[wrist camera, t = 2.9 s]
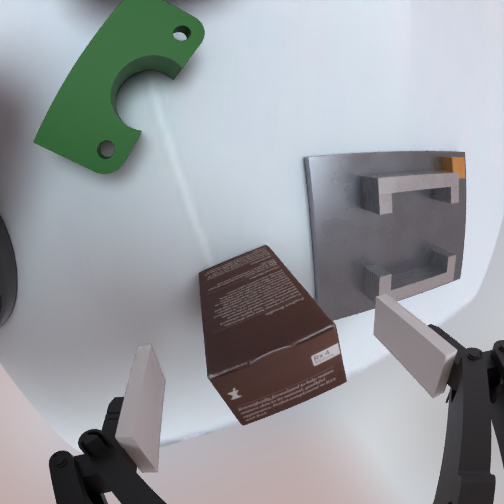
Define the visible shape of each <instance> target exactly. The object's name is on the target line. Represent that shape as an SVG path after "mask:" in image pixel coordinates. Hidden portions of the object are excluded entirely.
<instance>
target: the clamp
mask: <svg viewBox="0 0 504 504" xmlns="http://www.w3.org/2000/svg"><path fill="white" fill-rule="evenodd" d="M176 32H182V33H184V34H185V35H186V37H187V40H184V41H178V40H176V39H175V38H174V37H173V34H174V33H176ZM204 35H205V31H204V27H203V25H202V23H201V22H200V21H199V20H198V19H197V18H195V17H193V16H192V15H190V14H188V13H186V12H184V11H182V10H181V9H179V8H177V7H175V6H173V5H171V4H169V3H167V2H165V1H163V0H123V1H122V2H121V3H120V5H119V6H118V7H117V8H116V9H115V10H114V12H113V13H112V14H111V15H110V17H109V18H108V19H107V20H106V21H105V23H104V24H103V25H102V27H101V28H100V29H99V31H98V32H97V33H96V35H95V36H94V37H93V39H92V40H91V41H90V43H89V44H88V46H87V47H86V48H85V50H84V51H83V53H82V54H81V56H80V57H79V59H78V60H77V62H76V63H75V65H74V67H73V68H72V70H71V71H70V73H69V75H68V76H67V78H66V80H65V81H64V83H63V85H62V86H61V88H60V90H59V92H58V93H57V95H56V97H55V99H54V101H53V103H52V105H51V106H50V108H49V110H48V112H47V114H46V116H45V118H44V120H43V122H42V125H41V127H40V129H39V131H38V133H37V135H36V138H35V140H34V143H36V144H38V145H40V146H42V147H44V148H46V149H48V150H51V151H53V152H55V153H57V154H59V155H61V156H63V157H65V158H67V159H69V160H71V161H74V162H76V163H78V164H80V165H82V166H84V167H86V168H88V169H90V170H92V171H94V172H97V173H101V174H107V173H111V172H114V171H116V170H117V169H119V168H120V167H121V166H122V165H123V163H124V162H125V160H126V158H127V156H128V155H129V153H130V151H131V149H132V147H133V145H134V144H135V142H136V140H137V138H138V137H139V135H140V133H141V131H140V130H136V129H133V128H130V127H128V126H127V125H125V124H124V123H123V122H122V121H121V119H120V118H119V116H118V114H117V111H116V103H115V102H116V95H117V92H118V90H119V88H120V86H121V85H122V83H123V82H124V81H125V80H126V79H127V78H129V77H130V76H131V75H133V74H135V73H137V72H140V71H144V70H156V71H160V72H163V73H165V74H166V75H168V76H169V77H170V78H172V79H174V78H175V76H176V75H177V74H178V73H179V72H180V70H181V69H182V68H183V67H184V65H185V64H186V62H187V61H188V60H189V58H190V57H191V56H192V54H193V53H194V52H195V50H196V49H197V48H198V47H199V45H200V44H201V43H202V41H203V39H204ZM105 140H109V141H111V142H113V144H114V146H115V152H114V154H113V155H112V156H110V157H105V156H103V155H102V154H101V153H100V145H101V143H102V142H103V141H105Z"/></svg>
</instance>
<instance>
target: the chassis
mask: <svg viewBox="0 0 504 504" xmlns="http://www.w3.org/2000/svg"><path fill="white" fill-rule="evenodd" d="M304 162H305V171H306V180H307V189H308V198H309V209H310V219H311V231H312V243H313V257H314V272H315V289H316V303H317V304H318V305H319V306H320V307H321V308H322V310H323V311H324V312H325V313H326V314H327V316H328V317H329V318H330V319H331V320H332V321H333V320H337V319H340V318H344V317H347V316H351V315H354V314H358V313H361V312H364V311H368V310H371V309H374V308H375V304H376V297H377V296H380V295H383V294H387V295H389V296H390V297H391V298H392V299H394V300H395V301H399V300H402V299H405V298H408V297H411V296H414V295H417V294H420V293H423V292H425V291H428V290H431V289H434V288H436V287H439V286H442V285H444V284H447V283H450V282H452V281H455V280H457V279H460V276H461V268H462V260H463V250H464V238H465V222H466V164H465V152H452V151H399V152H371V153H353V154H338V155H325V156H314V157H304Z"/></svg>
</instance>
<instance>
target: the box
mask: <svg viewBox="0 0 504 504" xmlns="http://www.w3.org/2000/svg"><path fill="white" fill-rule="evenodd" d="M199 283H200V297H201V310H202V321H203V333H204V342H205V355H206V364H207V377H208V379H209V380H210V381H211V383H212V384H213V386H214V387H215V389H216V390H217V391H218V393H219V394H220V396H221V397H222V398H223V400H224V401H225V402H226V404H227V405H228V407H229V408H230V409H231V411H232V412H233V414H234V415H235V417H236V418H237V419H238V421H239V422H240V423H241V424H242V425H246V424H249V423H251V422H254V421H257V420H260V419H263V418H265V417H268V416H270V415H273V414H275V413H278V412H280V411H283V410H285V409H288V408H290V407H293V406H295V405H297V404H300V403H302V402H305V401H307V400H309V399H311V398H313V397H316V396H318V395H320V394H322V393H324V392H326V391H328V390H331V389H333V388H335V387H337V386H339V385H341V384H343V383H345V382H346V381H347V380H346V375H345V370H344V365H343V360H342V355H341V350H340V345H339V339H338V334H337V329H336V325H335V323H334V322H333V321H332V320H331V319H330V318H329V317H328V316H327V314H326V313H325V312H324V311H323V310H322V308H321V307H320V306H319V305H318V304H317V303H316V302H315V301H314V299H313V298H312V297H311V296H310V295H309V294H308V292H307V291H306V290H305V289H304V288H303V286H302V285H301V284H300V283H299V282H298V281H297V279H296V278H295V277H294V276H293V275H292V274H291V272H290V271H289V270H288V269H287V268H286V267H285V265H284V264H283V263H282V262H281V261H280V259H279V258H278V257H277V256H276V255H275V253H274V252H273V251H272V250H271V249H270V247H269V246H267V245H266V246H263V247H261V248H258V249H256V250H253V251H251V252H248V253H246V254H244V255H241V256H239V257H236V258H234V259H231V260H229V261H226V262H224V263H222V264H219V265H217V266H214V267H212V268H210V269H207V270H205V271H203V272H200V273H199Z"/></svg>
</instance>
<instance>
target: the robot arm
mask: <svg viewBox="0 0 504 504" xmlns="http://www.w3.org/2000/svg"><path fill="white" fill-rule="evenodd" d="M16 292H17V274H16V265H15V259H14V254H13V249H12V245H11V242H10V239H9V236H8V233H7V230H6V227H5V225H4V223H3V220H2V218H1V216H0V326H1V325H2V324H3V323H4V322H5V321H6V320H7V319H8V317H9V316H10V314H11V312H12V310H13V307H14V304H15V299H16ZM373 335H374V336H375V337H376V338H377V339H378V340H379V341H380V342H381V343H382V344H383V345H384V346H385V347H386V348H387V349H388V350H389V351H390V352H391V354H392V355H393V356H394V357H395V358H396V359H397V360H398V361H399V362H400V363H401V364H402V365H403V366H404V367H405V368H406V370H407V371H408V372H409V373H410V374H411V375H412V376H413V377H414V378H415V379H416V380H417V381H418V383H419V384H420V385H421V386H422V387H423V388H424V389H425V390H426V391H427V392H428V393H429V394H430V396H431V397H432V398H435V397H436V396H438V395H440V394H442V393H444V391H445V388H446V385H447V384H448V385H449V386H450V387H451V389H450V392H449V394H448V397H447V399H446V403H447V402H448V400H449V408H448V420H447V431H446V440H445V447H444V453H443V460H442V466H441V471H440V476H439V481H438V486H437V491H436V495H435V499H434V502H433V504H493V501H494V492H495V475H492V474H491V473H490V463H491V420H492V423H493V426H494V430H495V434H496V437H497V441H498V445H499V449H500V453H501V457H502V462H503V467H504V340H500V341H497V342H495V344H494V346H493V350H490V351H486V352H482V351H481V350H479V349H477V348H467V349H466V348H464V347H463V346H462V345H461V344H459V343H458V342H457V341H456V340H455V339H453V338H452V337H450V336H449V335H448V334H447V333H445V332H444V331H443V330H442V329H440V328H439V327H437V326H434V325H432V324H430V325H428V326H427V325H426V324H425V323H423V322H422V321H421V320H420V319H418V318H417V317H416V316H414V315H413V314H412V313H411V312H409V311H408V310H407V309H405V308H404V307H403V306H402V305H400V304H399V303H398V302H396V301H395V300H394V299H392V298H391V297H390V296H389V295H387V294H383V295H380V296H377V297H376V304H375V321H374V334H373ZM165 382H166V381H165V378H164V376H163V373H162V371H161V368H160V366H159V363H158V361H157V358H156V355H155V353H154V350H153V347H152V345H151V344H147V345H139V346H138V349H137V353H136V356H135V360H134V363H133V367H132V370H131V374H130V378H129V381H128V385H127V389H126V393H125V397H115V398H114V399H113V400H112V401H111V403H110V404H109V406H108V409H107V414H106V416H105V420H104V424H103V427H102V431H101V430H98V429H91V430H88V431H86V432H84V433H83V434H82V435H81V436H80V438H79V441H78V445H79V448H80V449H81V450H82V451H83V453H84V454H83V455H78V456H74V457H73V456H72V455H71V454H70V453H69V452H67V451H58V452H56V453H54V454H53V455H52V456H51V458H50V460H49V468H50V474H51V480H52V485H53V489H54V494H55V499H56V503H57V504H108V503H107V500H106V498H105V495H104V493H106V492H110V491H112V492H113V493H114V495H115V496H116V497H117V498H118V500H119V501H120V502H121V504H166V503H165V502H164V501H163V500H162V499H161V498H160V497H159V496H158V495H157V494H156V493H155V492H154V491H153V490H152V489H151V488H150V487H149V486H148V485H147V484H146V483H145V482H144V480H143V479H142V478H141V477H140V476H139V475H138V474H137V473H136V470H137V467H138V468H139V470H140V471H141V472H143V473H144V472H158V460H159V446H160V432H161V421H162V410H163V400H164V390H165Z"/></svg>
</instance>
